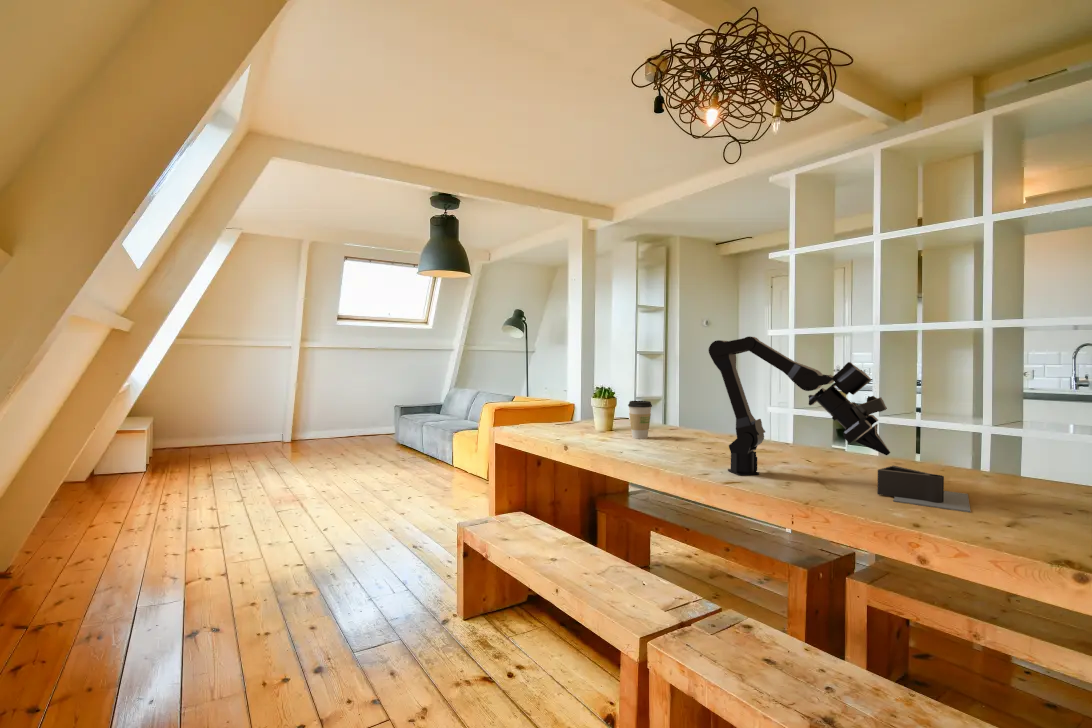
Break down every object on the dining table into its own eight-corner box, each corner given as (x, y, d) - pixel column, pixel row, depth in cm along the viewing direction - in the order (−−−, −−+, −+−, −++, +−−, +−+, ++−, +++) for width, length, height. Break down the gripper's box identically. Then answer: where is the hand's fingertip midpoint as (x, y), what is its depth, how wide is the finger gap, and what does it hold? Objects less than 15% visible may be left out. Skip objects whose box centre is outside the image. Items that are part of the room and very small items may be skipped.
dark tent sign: (893, 465, 133) (950, 474, 123) (893, 489, 133) (950, 499, 123) (877, 469, 128) (935, 479, 118) (876, 494, 128) (935, 505, 118)
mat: (893, 501, 123) (893, 500, 123) (899, 486, 137) (899, 485, 137) (970, 512, 114) (970, 511, 114) (967, 495, 129) (967, 493, 129)
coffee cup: (654, 439, 212) (654, 402, 212) (629, 439, 212) (629, 402, 212) (649, 436, 222) (649, 400, 221) (626, 435, 222) (626, 400, 222)
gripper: (859, 387, 126) (915, 438, 120) (869, 384, 141) (918, 429, 135) (822, 417, 131) (874, 467, 125) (835, 411, 146) (882, 456, 139)
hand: (888, 454), depth 131 cm, fingers closed
